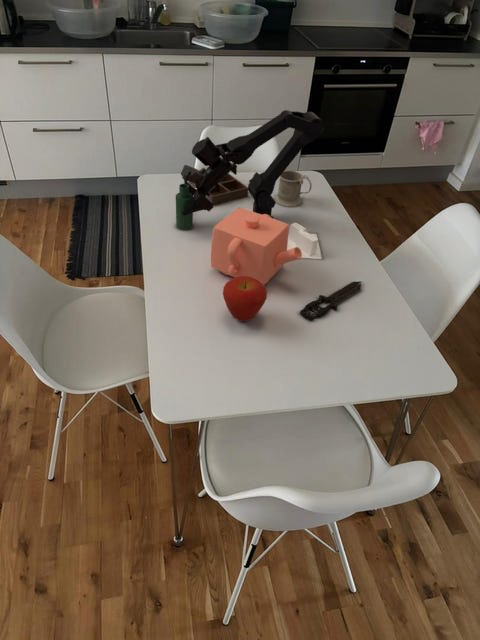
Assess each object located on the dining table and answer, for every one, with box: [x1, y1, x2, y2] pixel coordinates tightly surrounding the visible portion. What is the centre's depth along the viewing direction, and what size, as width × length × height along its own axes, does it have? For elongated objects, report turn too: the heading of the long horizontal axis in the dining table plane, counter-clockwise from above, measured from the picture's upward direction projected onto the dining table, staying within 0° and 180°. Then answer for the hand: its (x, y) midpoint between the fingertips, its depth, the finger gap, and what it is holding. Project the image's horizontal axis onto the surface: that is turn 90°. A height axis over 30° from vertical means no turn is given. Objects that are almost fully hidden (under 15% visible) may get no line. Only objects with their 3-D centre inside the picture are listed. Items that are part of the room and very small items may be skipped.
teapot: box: [210, 207, 302, 286], centre depth 144 cm, size 25×23×18 cm
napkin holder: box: [287, 222, 323, 260], centre depth 162 cm, size 15×11×6 cm
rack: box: [209, 172, 249, 207], centre depth 186 cm, size 15×15×4 cm
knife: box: [299, 281, 362, 321], centre depth 142 cm, size 25×6×1 cm, turn 127°
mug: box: [274, 170, 312, 208], centre depth 181 cm, size 14×10×12 cm
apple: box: [222, 276, 268, 322], centre depth 131 cm, size 11×11×12 cm
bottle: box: [175, 183, 194, 231], centre depth 163 cm, size 5×5×14 cm
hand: (180, 208), depth 163 cm, fingers open, 8 cm apart
